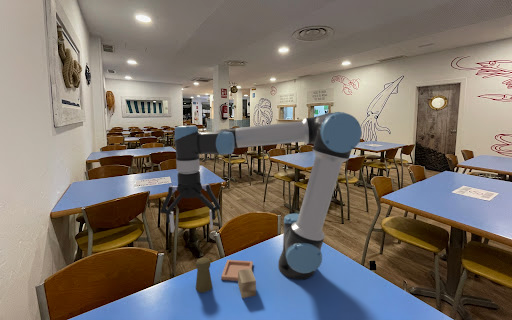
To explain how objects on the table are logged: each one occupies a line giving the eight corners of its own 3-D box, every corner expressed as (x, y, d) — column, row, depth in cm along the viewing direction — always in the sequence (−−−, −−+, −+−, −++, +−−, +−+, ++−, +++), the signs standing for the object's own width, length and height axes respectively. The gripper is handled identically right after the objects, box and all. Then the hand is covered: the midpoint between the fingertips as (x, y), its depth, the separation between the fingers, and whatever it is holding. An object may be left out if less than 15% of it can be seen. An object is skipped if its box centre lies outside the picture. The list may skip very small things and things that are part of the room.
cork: (208, 293, 86) (207, 265, 84) (192, 291, 87) (191, 263, 85) (214, 282, 91) (213, 256, 90) (199, 280, 93) (198, 254, 91)
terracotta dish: (252, 264, 103) (252, 261, 103) (249, 281, 92) (249, 278, 92) (227, 262, 104) (227, 259, 104) (221, 279, 93) (221, 276, 93)
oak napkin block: (251, 282, 92) (251, 268, 91) (255, 295, 85) (255, 280, 84) (238, 284, 90) (238, 270, 89) (241, 298, 84) (241, 283, 83)
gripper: (225, 167, 87) (227, 222, 91) (153, 170, 84) (158, 227, 88) (225, 172, 80) (227, 231, 84) (147, 175, 77) (152, 237, 81)
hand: (192, 229), depth 86 cm, fingers open, 13 cm apart
